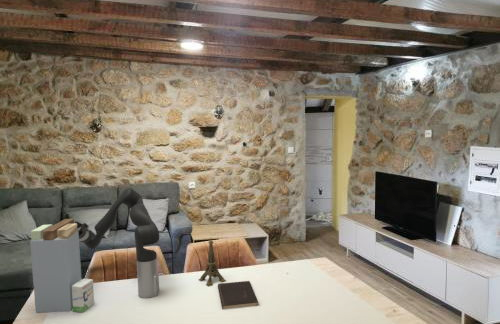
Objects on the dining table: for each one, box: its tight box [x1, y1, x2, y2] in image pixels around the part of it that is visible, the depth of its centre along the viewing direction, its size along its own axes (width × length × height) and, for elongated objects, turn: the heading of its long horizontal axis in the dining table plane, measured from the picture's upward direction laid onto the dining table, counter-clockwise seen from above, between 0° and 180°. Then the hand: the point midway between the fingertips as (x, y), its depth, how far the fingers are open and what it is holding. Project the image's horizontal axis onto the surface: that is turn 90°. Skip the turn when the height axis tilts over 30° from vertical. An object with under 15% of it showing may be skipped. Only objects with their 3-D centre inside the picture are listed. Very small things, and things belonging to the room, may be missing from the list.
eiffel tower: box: [198, 238, 227, 287], centre depth 189 cm, size 11×11×25 cm
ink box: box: [72, 278, 95, 313], centre depth 163 cm, size 9×5×12 cm, turn 168°
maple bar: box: [57, 222, 77, 239], centre depth 164 cm, size 4×11×4 cm, turn 4°
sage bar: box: [30, 223, 53, 241], centre depth 163 cm, size 4×11×4 cm, turn 4°
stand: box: [29, 231, 83, 314], centre depth 165 cm, size 15×13×32 cm
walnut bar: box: [43, 218, 75, 241], centre depth 168 cm, size 4×22×4 cm, turn 4°
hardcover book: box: [217, 280, 259, 310], centre depth 172 cm, size 16×23×2 cm
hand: (66, 223), depth 176 cm, fingers open, 8 cm apart
